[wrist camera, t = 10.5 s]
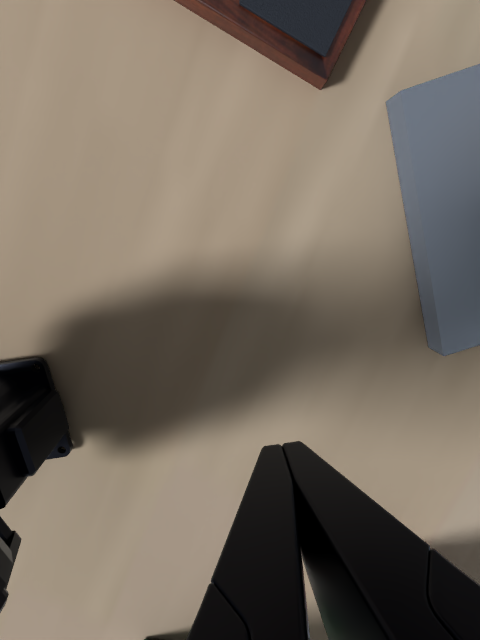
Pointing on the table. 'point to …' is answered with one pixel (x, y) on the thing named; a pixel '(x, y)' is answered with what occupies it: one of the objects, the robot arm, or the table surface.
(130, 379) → the table surface
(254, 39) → the picture frame
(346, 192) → the table surface
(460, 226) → the key base
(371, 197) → the table surface
